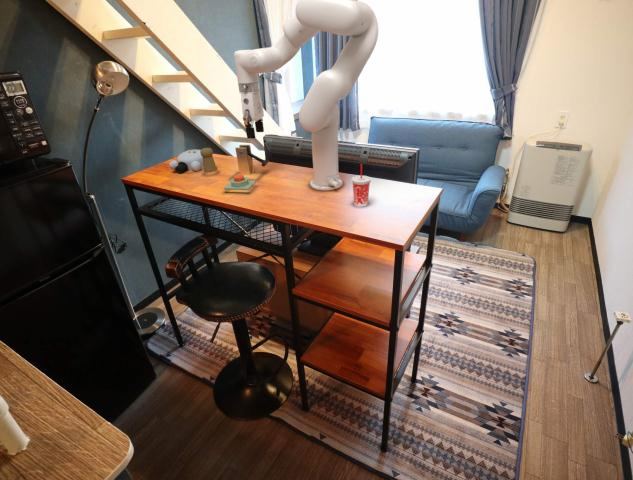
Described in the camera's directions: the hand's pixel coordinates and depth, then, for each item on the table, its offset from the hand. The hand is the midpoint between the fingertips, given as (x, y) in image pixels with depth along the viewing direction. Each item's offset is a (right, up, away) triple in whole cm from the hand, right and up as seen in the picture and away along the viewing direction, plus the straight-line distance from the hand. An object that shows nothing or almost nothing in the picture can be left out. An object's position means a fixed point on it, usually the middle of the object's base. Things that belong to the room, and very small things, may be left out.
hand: (255, 135), depth 135 cm
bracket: (-5, -14, +11) cm, 19 cm away
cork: (-23, -12, +17) cm, 31 cm away
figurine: (-33, -9, +23) cm, 41 cm away
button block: (-5, -22, -2) cm, 23 cm away
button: (-6, -19, -4) cm, 20 cm away
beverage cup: (+39, -29, -19) cm, 52 cm away
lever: (-2, -8, +6) cm, 10 cm away
